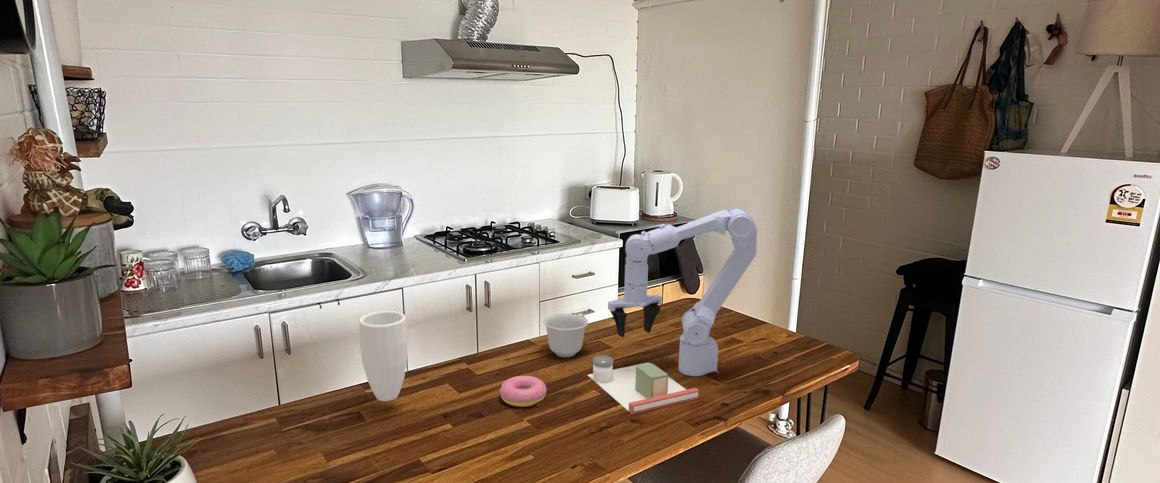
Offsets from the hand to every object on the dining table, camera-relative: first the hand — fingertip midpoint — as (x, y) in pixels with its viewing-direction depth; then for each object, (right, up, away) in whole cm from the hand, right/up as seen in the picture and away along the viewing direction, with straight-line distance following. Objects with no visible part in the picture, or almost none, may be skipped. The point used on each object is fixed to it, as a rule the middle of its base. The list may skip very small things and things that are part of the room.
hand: (634, 333), depth 165 cm
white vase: (-57, -14, -19) cm, 62 cm away
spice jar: (-8, -10, -5) cm, 14 cm away
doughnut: (-27, -13, -14) cm, 33 cm away
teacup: (-17, -7, +12) cm, 22 cm away
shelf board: (+1, -12, -9) cm, 15 cm away
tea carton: (+3, -12, -13) cm, 18 cm away
